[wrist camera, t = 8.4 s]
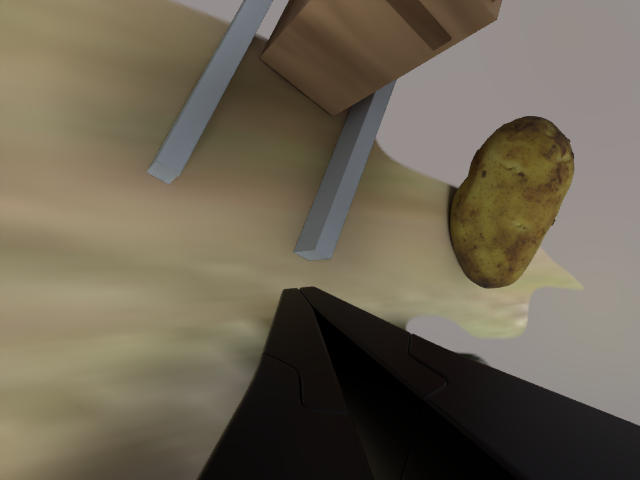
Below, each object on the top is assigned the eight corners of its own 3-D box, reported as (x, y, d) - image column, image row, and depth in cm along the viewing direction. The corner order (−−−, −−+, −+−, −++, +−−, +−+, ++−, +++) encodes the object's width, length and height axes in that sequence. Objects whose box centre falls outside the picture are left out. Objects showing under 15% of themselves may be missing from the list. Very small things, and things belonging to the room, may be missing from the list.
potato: (412, 249, 30) (512, 242, 23) (458, 122, 34) (553, 85, 28) (474, 297, 34) (575, 302, 27) (508, 177, 38) (602, 156, 31)
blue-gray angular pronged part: (308, 260, 25) (383, 255, 19) (146, 172, 20) (179, 129, 14) (390, 46, 30) (468, -9, 24) (280, -64, 25) (344, -166, 20)
